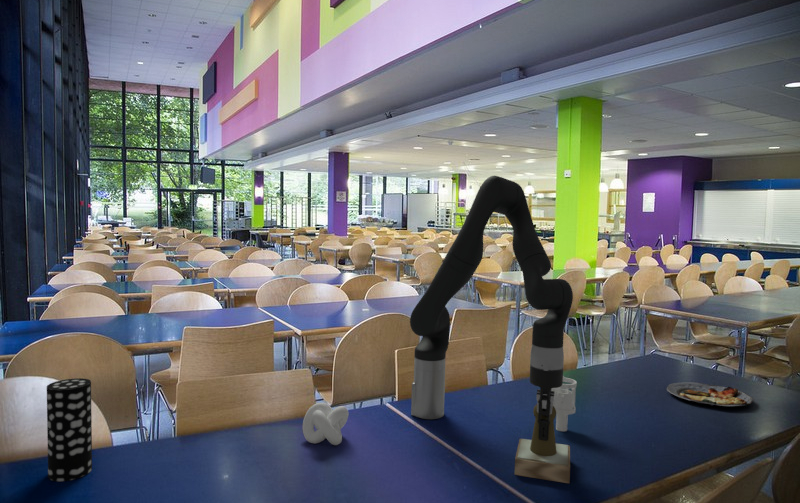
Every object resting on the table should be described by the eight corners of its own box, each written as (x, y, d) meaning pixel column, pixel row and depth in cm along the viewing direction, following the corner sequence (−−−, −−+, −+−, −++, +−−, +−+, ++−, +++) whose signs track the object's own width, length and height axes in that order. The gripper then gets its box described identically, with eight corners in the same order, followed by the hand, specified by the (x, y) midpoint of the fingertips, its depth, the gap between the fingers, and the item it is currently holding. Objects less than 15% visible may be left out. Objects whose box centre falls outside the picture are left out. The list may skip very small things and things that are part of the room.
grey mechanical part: (567, 423, 153) (569, 372, 152) (579, 433, 146) (581, 380, 145) (544, 425, 152) (546, 373, 151) (555, 434, 145) (557, 380, 144)
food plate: (752, 396, 182) (752, 385, 182) (754, 417, 162) (754, 406, 162) (670, 384, 195) (671, 375, 195) (663, 403, 176) (663, 392, 176)
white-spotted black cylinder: (61, 464, 122) (59, 378, 121) (98, 463, 123) (98, 378, 121) (39, 481, 114) (38, 390, 112) (80, 481, 114) (79, 389, 113)
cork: (557, 457, 122) (559, 410, 121) (530, 454, 123) (532, 407, 122) (555, 446, 128) (557, 401, 127) (529, 443, 129) (531, 399, 128)
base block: (514, 474, 122) (515, 457, 121) (519, 453, 133) (519, 437, 133) (569, 483, 118) (570, 466, 118) (569, 460, 129) (569, 444, 129)
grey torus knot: (331, 427, 147) (332, 395, 146) (360, 441, 138) (360, 407, 138) (297, 438, 139) (297, 405, 138) (324, 453, 130) (325, 418, 130)
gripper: (532, 355, 132) (529, 421, 133) (528, 370, 118) (525, 444, 119) (563, 358, 130) (560, 425, 131) (563, 374, 116) (560, 449, 117)
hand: (543, 434), depth 125 cm, fingers open, 6 cm apart
